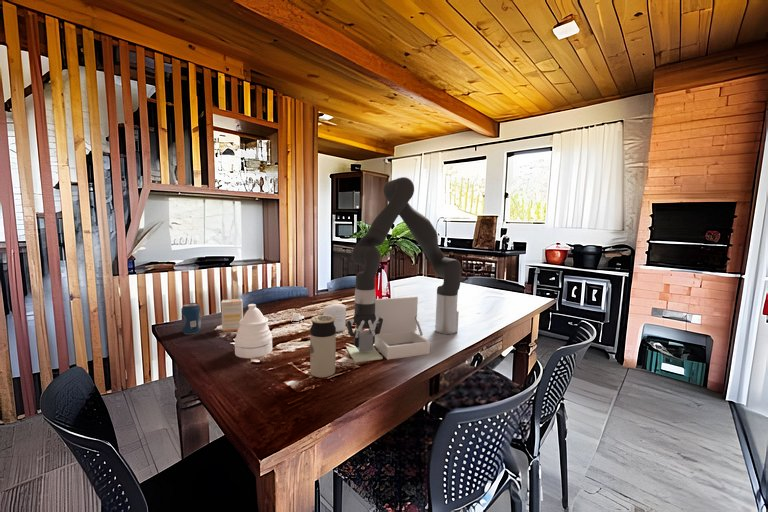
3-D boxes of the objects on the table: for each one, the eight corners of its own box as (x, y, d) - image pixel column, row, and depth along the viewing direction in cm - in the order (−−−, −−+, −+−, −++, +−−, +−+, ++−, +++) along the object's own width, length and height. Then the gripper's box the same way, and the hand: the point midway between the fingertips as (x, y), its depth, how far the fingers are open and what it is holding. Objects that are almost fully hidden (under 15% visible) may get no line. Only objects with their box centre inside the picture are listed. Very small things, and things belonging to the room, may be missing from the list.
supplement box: (243, 326, 149) (242, 298, 147) (242, 330, 144) (241, 301, 143) (223, 328, 146) (222, 299, 145) (221, 331, 141) (220, 302, 140)
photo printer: (342, 328, 150) (343, 301, 149) (347, 330, 147) (347, 303, 146) (321, 331, 145) (321, 304, 144) (325, 334, 141) (325, 306, 140)
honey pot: (269, 357, 117) (268, 307, 115) (230, 359, 115) (229, 308, 113) (274, 343, 129) (274, 299, 128) (240, 345, 127) (239, 299, 125)
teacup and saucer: (301, 318, 165) (301, 310, 165) (309, 322, 159) (309, 313, 159) (284, 321, 159) (284, 313, 159) (292, 325, 153) (292, 317, 153)
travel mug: (335, 366, 111) (335, 314, 109) (335, 377, 103) (336, 321, 101) (310, 367, 110) (310, 314, 108) (309, 379, 102) (309, 322, 100)
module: (368, 345, 125) (368, 329, 124) (372, 350, 120) (373, 334, 119) (355, 346, 123) (356, 331, 122) (359, 351, 118) (359, 335, 118)
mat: (371, 346, 129) (371, 345, 129) (382, 358, 118) (382, 357, 118) (346, 349, 125) (346, 348, 125) (355, 362, 114) (355, 360, 114)
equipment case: (415, 340, 137) (416, 296, 135) (432, 353, 124) (434, 305, 122) (371, 345, 131) (372, 299, 129) (384, 359, 117) (386, 309, 115)
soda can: (180, 331, 141) (179, 304, 139) (199, 328, 145) (198, 301, 144) (184, 336, 135) (182, 307, 134) (202, 332, 140) (201, 304, 139)
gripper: (380, 297, 126) (379, 340, 127) (343, 299, 120) (342, 344, 122) (387, 302, 119) (385, 347, 120) (348, 304, 113) (347, 352, 115)
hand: (364, 345), depth 121 cm, fingers closed on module, 5 cm apart
